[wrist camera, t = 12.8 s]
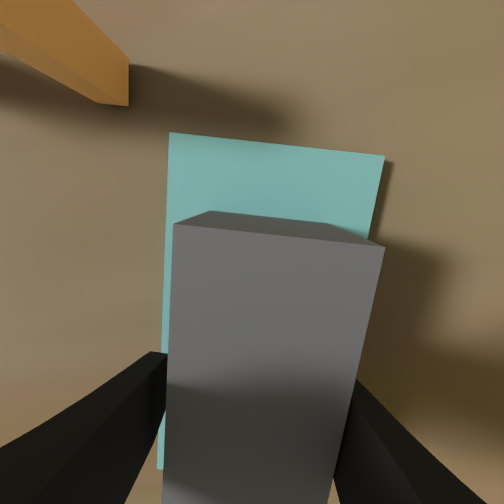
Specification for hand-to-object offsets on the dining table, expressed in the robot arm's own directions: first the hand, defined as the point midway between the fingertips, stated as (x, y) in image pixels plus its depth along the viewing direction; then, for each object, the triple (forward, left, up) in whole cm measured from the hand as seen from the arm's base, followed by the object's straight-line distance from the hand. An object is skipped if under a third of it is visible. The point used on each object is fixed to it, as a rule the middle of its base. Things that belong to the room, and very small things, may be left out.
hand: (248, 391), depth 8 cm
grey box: (0, 0, -3) cm, 3 cm away
